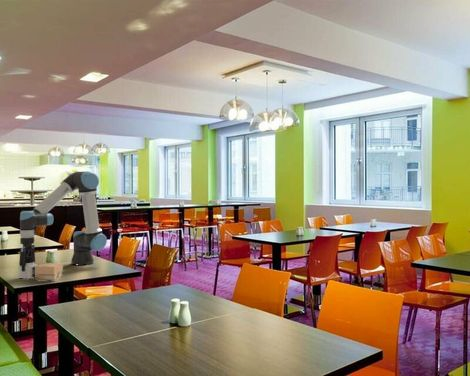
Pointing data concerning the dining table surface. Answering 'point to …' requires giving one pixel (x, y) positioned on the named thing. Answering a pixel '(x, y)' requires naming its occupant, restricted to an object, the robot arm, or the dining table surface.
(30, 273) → the container
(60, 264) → the tower top
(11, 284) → the dining table surface
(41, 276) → the tower bottom
